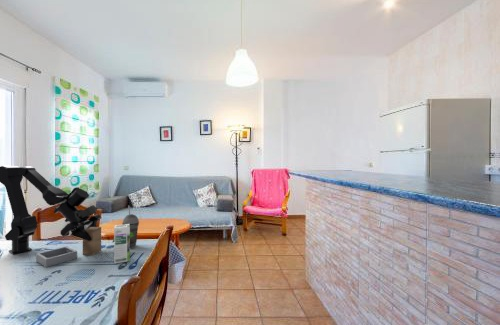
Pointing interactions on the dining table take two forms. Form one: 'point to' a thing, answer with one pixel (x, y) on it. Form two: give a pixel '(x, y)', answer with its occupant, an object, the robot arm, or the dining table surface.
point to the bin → (56, 256)
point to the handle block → (92, 241)
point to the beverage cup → (132, 227)
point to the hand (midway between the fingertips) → (95, 238)
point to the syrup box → (121, 243)
